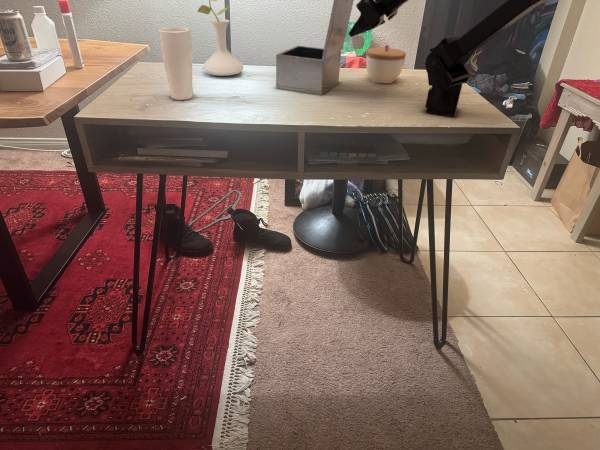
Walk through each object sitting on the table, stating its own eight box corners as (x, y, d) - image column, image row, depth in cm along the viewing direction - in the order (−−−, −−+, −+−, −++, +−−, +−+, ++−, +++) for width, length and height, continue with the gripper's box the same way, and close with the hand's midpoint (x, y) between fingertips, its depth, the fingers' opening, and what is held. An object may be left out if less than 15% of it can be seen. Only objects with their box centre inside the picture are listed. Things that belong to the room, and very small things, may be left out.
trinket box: (402, 87, 116) (408, 50, 111) (362, 84, 117) (366, 47, 112) (400, 77, 125) (406, 42, 120) (363, 74, 126) (367, 40, 121)
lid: (334, -5, 95) (337, -4, 95) (352, -9, 105) (355, -8, 105) (321, 58, 103) (325, 59, 103) (339, 48, 113) (342, 49, 113)
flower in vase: (251, 72, 124) (248, -28, 110) (228, 81, 115) (221, -26, 102) (215, 66, 129) (207, -31, 115) (190, 74, 120) (179, -29, 107)
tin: (276, 88, 111) (276, 54, 107) (296, 76, 122) (297, 45, 117) (321, 95, 108) (323, 60, 103) (338, 82, 118) (341, 50, 114)
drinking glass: (181, 91, 106) (174, 25, 98) (202, 96, 103) (196, 29, 95) (161, 98, 101) (151, 29, 93) (182, 103, 98) (174, 33, 90)
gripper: (391, -47, 100) (343, 2, 110) (371, -46, 86) (316, 10, 95) (419, -6, 102) (369, 39, 112) (403, 1, 88) (347, 51, 97)
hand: (351, 34), depth 104 cm, fingers closed
